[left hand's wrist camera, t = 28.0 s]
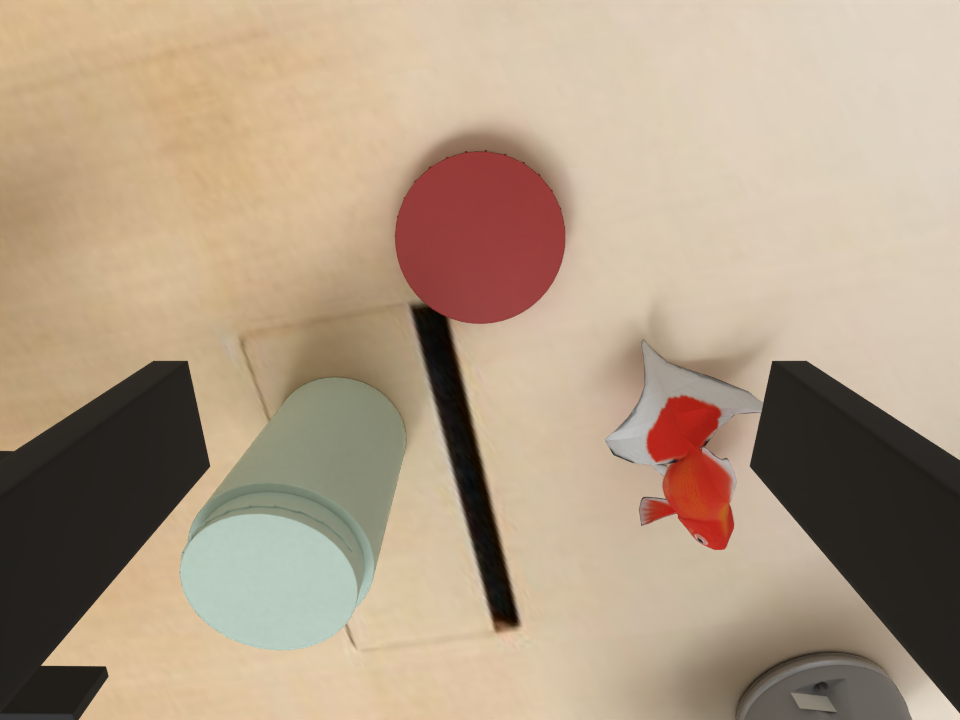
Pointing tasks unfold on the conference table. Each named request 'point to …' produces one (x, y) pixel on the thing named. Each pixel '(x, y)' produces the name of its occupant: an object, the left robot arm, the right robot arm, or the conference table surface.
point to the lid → (480, 237)
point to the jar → (298, 519)
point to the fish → (684, 446)
